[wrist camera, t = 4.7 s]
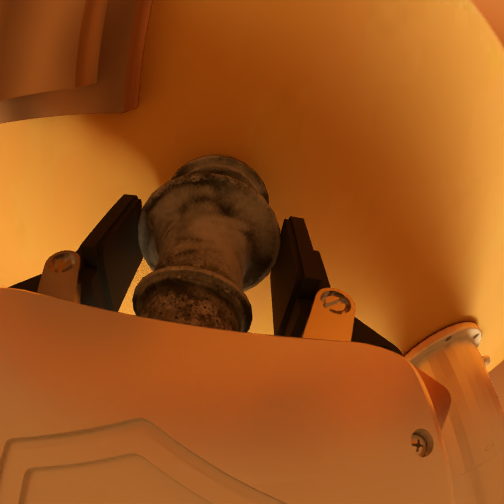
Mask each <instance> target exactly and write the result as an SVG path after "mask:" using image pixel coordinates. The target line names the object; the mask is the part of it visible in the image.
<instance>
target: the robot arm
mask: <svg viewBox="0 0 504 504" xmlns="http://www.w3.org/2000/svg"><path fill="white" fill-rule="evenodd" d="M141 210H142V202H141V199H138V197H137V196H136V195H126V194H124V195H123V196H122V197H121V198H120V199H119V200H118V201H117V203H116V204H115V205H114V206H113V207H112V208H111V209H110V210H109V212H108V213H107V214H106V215H105V216H104V217H103V218H102V220H101V221H100V222H99V223H98V224H97V226H96V227H95V228H94V229H93V230H92V232H91V233H90V234H89V235H88V237H87V238H86V239H85V240H84V242H83V243H82V244H81V245H80V247H79V249H78V250H77V251H76V252H74V251H60V252H58V253H55V254H54V255H52V256H50V258H49V259H48V260H47V261H46V263H45V266H44V269H43V272H42V274H40V275H38V276H35V277H33V278H30V279H28V280H25V281H23V282H20V283H18V284H15V285H13V286H10V287H8V288H0V504H504V411H503V408H502V405H501V403H500V400H499V398H498V396H497V393H496V391H495V388H494V386H493V384H492V382H491V379H490V377H489V375H488V373H487V371H486V365H488V364H489V362H490V358H489V356H481V354H480V352H479V351H478V349H477V347H478V345H479V343H480V340H481V336H482V335H481V331H480V329H479V327H478V326H477V325H476V324H475V323H472V322H463V323H459V324H455V325H452V326H450V327H447V328H445V329H443V330H441V331H439V332H437V333H435V334H434V335H432V336H430V337H429V338H427V339H426V340H424V341H423V342H421V343H420V344H418V345H417V346H416V347H415V348H413V349H412V350H411V351H410V352H409V353H407V354H406V355H405V356H404V357H403V355H402V353H401V352H400V350H399V349H398V348H397V347H396V346H395V345H393V344H392V343H391V342H389V341H388V340H386V339H385V338H384V337H382V336H381V335H379V334H378V333H376V332H375V331H374V330H372V329H371V328H369V327H368V326H367V325H365V324H364V323H362V322H361V321H360V320H358V319H357V318H355V317H354V316H355V304H354V301H353V300H352V298H351V297H350V296H349V295H347V294H346V293H345V292H343V291H341V290H339V289H335V288H330V284H329V281H328V278H327V274H326V271H325V268H324V265H323V262H322V259H321V255H320V253H319V251H315V250H313V247H312V244H311V241H310V238H309V234H308V231H307V228H306V225H305V221H304V219H303V218H298V217H292V216H290V217H289V219H284V222H283V226H282V230H281V234H280V239H281V244H280V249H279V253H278V256H277V260H276V263H275V265H274V267H273V268H272V270H271V275H270V280H271V294H272V309H273V324H274V335H266V334H257V333H248V332H239V331H231V330H223V329H216V328H208V327H201V326H195V325H188V324H182V323H175V322H169V321H163V320H158V319H152V318H146V317H141V316H136V315H131V314H126V313H120V312H118V310H119V308H120V306H121V304H122V301H123V299H124V297H125V295H126V293H127V290H128V288H129V286H130V284H131V282H132V280H133V278H134V276H135V274H136V271H137V269H138V267H139V265H140V263H141V261H142V259H143V255H142V252H141V249H140V246H139V241H138V221H139V217H140V214H141Z"/></svg>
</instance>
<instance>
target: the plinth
mask: <svg viewBox="0 0 504 504" xmlns="http://www.w3.org/2000/svg"><path fill="white" fill-rule="evenodd" d="M152 1H153V0H0V124H1V123H6V122H12V121H19V120H26V119H33V118H41V117H51V116H62V115H75V114H95V113H124V112H127V111H129V110H131V109H134V108H136V107H138V97H139V86H140V76H141V67H142V59H143V52H144V45H145V38H146V32H147V26H148V21H149V15H150V10H151V5H152Z"/></svg>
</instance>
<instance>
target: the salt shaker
mask: <svg viewBox="0 0 504 504" xmlns="http://www.w3.org/2000/svg"><path fill="white" fill-rule="evenodd" d="M138 241H139V246H140V249H141V252H142V255H143V257H144V258H145V260H146V262H147V263H148V265H149V266H150V268H151V269H152V270H153V272H151V273H150V274H148V275H147V276H145V277H143V278H142V280H141V281H140V282H139V284H138V285H137V286H136V288H135V291H134V295H133V299H132V301H133V308H134V312H135V314H136V316H141V317H146V318H152V319H158V320H163V321H169V322H175V323H182V324H188V325H195V326H201V327H208V328H216V329H223V330H231V331H239V332H247V331H248V330H249V329H250V325H251V322H252V308H251V304H250V302H249V300H248V298H247V297H246V295H245V293H244V291H246V290H248V289H250V288H252V287H254V286H256V285H257V284H258V283H260V282H261V281H262V280H263V279H264V278H265V277H266V276H268V274H269V273H270V271H271V270H272V268H273V267H274V265H275V263H276V260H277V256H278V253H279V249H280V244H281V239H280V228H279V225H278V222H277V219H276V216H275V213H274V212H273V210H272V209H271V207H270V206H269V198H268V193H267V190H266V188H265V185H264V183H263V181H262V180H261V178H260V177H259V176H258V174H257V173H256V172H255V171H254V170H253V169H252V168H250V167H249V166H248V165H247V164H245V163H243V162H241V161H239V160H237V159H234V158H232V157H227V156H221V155H211V156H202V157H200V158H197V159H194V160H192V161H189V162H188V163H187V164H185V165H184V166H183V167H181V168H180V169H179V170H178V171H177V172H176V174H175V175H174V176H173V178H172V179H171V180H170V181H168V182H166V183H165V184H164V185H162V186H161V187H160V188H159V189H157V190H156V191H155V192H154V193H152V195H151V196H150V197H149V199H148V200H147V202H146V203H145V205H144V206H143V208H142V210H141V214H140V217H139V221H138Z"/></svg>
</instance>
